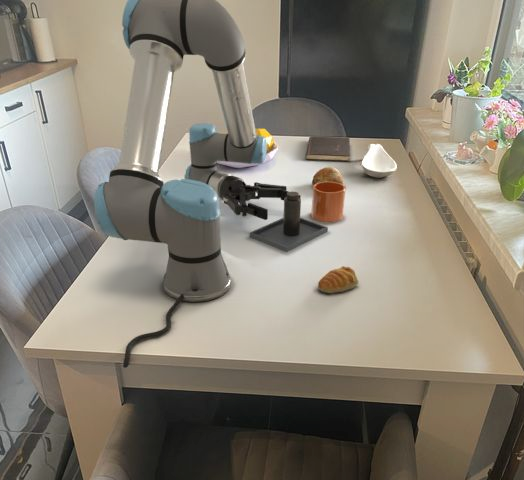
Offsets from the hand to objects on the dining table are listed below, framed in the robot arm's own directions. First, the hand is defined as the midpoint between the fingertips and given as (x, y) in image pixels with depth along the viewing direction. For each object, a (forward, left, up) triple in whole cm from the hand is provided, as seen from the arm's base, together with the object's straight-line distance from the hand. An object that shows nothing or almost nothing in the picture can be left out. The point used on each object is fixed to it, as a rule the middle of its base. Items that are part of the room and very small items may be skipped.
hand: (283, 207), depth 145 cm
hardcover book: (+67, +35, -7) cm, 76 cm away
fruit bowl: (+36, +51, -7) cm, 63 cm away
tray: (-1, -3, -7) cm, 8 cm away
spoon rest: (+61, +10, -7) cm, 62 cm away
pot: (+16, -3, -7) cm, 18 cm away
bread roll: (+36, +12, -7) cm, 39 cm away
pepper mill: (0, -3, -6) cm, 7 cm away
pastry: (-14, -29, -7) cm, 33 cm away
